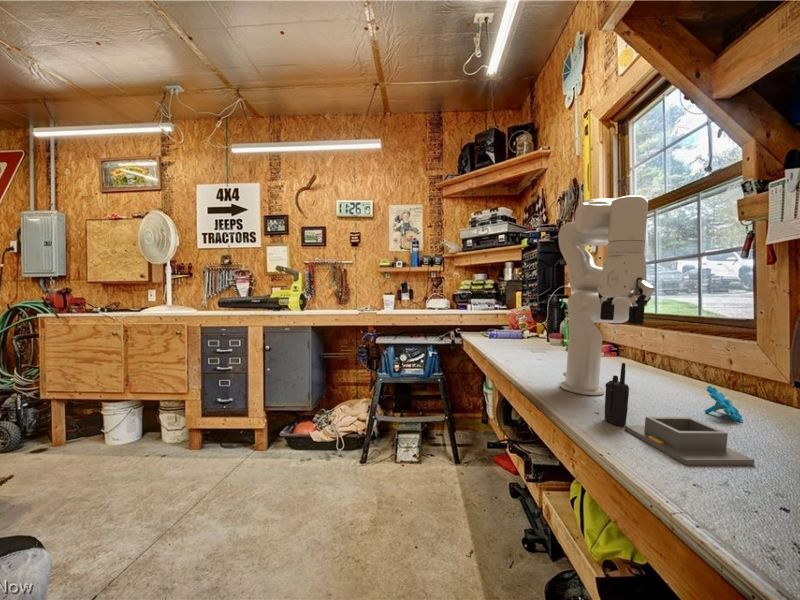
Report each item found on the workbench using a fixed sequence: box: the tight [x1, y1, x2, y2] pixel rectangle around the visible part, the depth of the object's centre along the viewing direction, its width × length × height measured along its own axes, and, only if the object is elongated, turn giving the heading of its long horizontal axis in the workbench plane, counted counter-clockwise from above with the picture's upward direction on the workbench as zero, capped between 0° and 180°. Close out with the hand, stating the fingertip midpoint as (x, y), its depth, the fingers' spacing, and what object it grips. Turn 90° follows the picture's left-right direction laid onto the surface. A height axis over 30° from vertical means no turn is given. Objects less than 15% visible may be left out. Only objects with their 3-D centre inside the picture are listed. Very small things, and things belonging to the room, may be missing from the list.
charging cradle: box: [624, 416, 755, 466], centre depth 74 cm, size 16×14×4 cm
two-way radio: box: [604, 362, 630, 427], centre depth 85 cm, size 6×4×15 cm
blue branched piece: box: [703, 385, 743, 422], centre depth 95 cm, size 11×6×10 cm
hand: (620, 321), depth 84 cm, fingers open, 9 cm apart
